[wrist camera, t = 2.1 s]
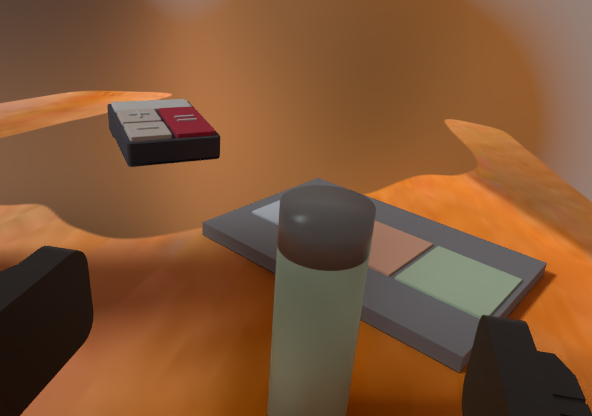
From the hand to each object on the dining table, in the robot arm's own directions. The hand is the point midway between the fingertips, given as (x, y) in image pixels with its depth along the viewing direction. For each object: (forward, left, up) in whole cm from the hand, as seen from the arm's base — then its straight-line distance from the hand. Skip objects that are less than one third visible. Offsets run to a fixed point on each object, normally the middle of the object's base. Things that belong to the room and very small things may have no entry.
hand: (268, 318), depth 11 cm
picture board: (-14, +28, -15) cm, 35 cm away
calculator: (-49, +32, -16) cm, 61 cm away
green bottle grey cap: (-6, +10, -15) cm, 19 cm away
